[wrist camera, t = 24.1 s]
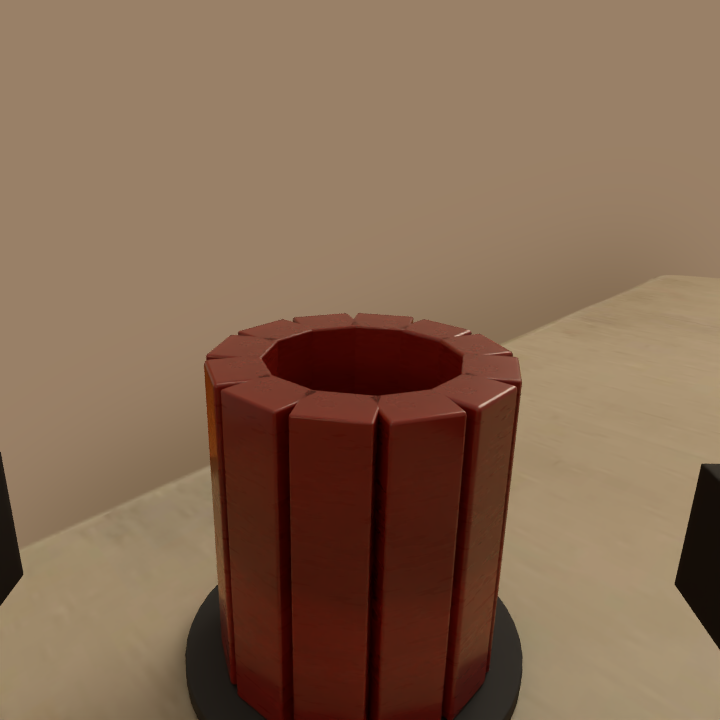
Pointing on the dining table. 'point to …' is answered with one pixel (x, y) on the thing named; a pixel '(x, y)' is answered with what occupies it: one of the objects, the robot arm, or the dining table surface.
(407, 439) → the ring
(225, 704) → the mat
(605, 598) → the dining table surface
